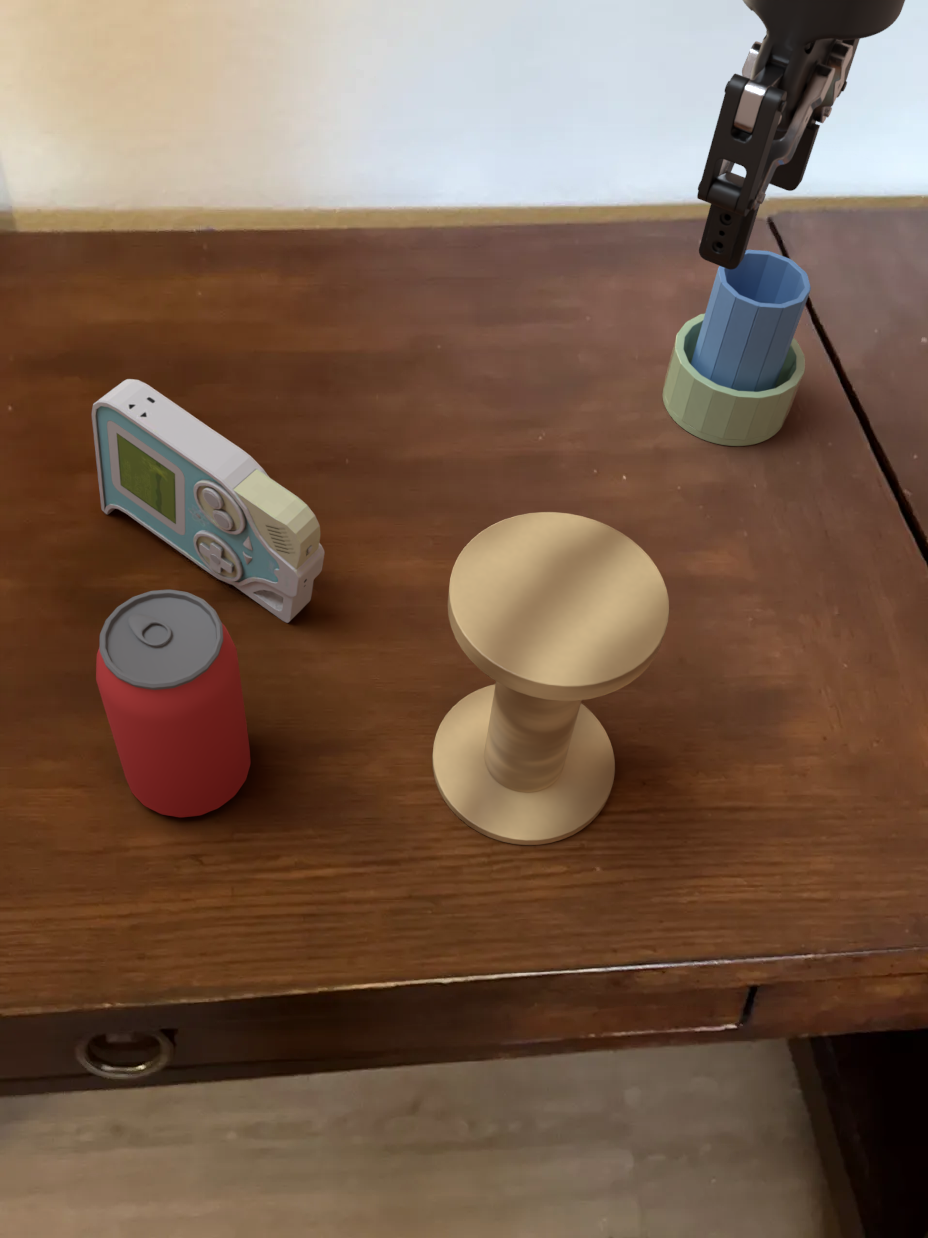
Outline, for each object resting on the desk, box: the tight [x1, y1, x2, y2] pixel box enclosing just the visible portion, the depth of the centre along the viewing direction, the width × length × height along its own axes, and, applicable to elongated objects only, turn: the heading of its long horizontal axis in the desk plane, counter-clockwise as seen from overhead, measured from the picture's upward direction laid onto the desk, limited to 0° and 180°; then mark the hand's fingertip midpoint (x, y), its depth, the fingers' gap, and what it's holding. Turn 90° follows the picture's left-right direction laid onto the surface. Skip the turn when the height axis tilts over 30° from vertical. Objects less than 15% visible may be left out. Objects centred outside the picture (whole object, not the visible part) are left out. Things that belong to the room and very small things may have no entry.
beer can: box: [95, 589, 252, 819], centre depth 60 cm, size 7×7×12 cm
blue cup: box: [691, 249, 812, 392], centre depth 81 cm, size 6×6×10 cm
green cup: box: [661, 312, 806, 447], centre depth 84 cm, size 9×9×4 cm
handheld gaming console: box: [91, 378, 325, 624], centre depth 70 cm, size 11×3×15 cm
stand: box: [431, 511, 670, 846], centre depth 61 cm, size 10×10×15 cm
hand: (750, 220), depth 64 cm, fingers open, 8 cm apart
